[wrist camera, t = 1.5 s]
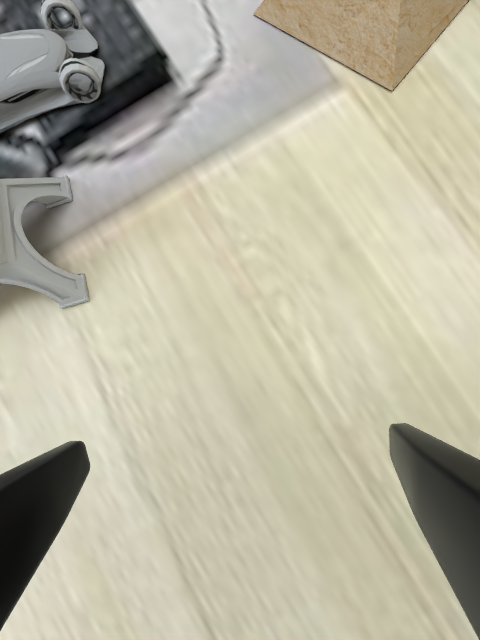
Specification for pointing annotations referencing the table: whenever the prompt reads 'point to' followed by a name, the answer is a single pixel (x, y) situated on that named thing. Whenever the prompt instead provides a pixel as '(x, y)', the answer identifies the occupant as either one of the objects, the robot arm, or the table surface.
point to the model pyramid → (365, 30)
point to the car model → (47, 67)
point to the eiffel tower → (18, 254)
